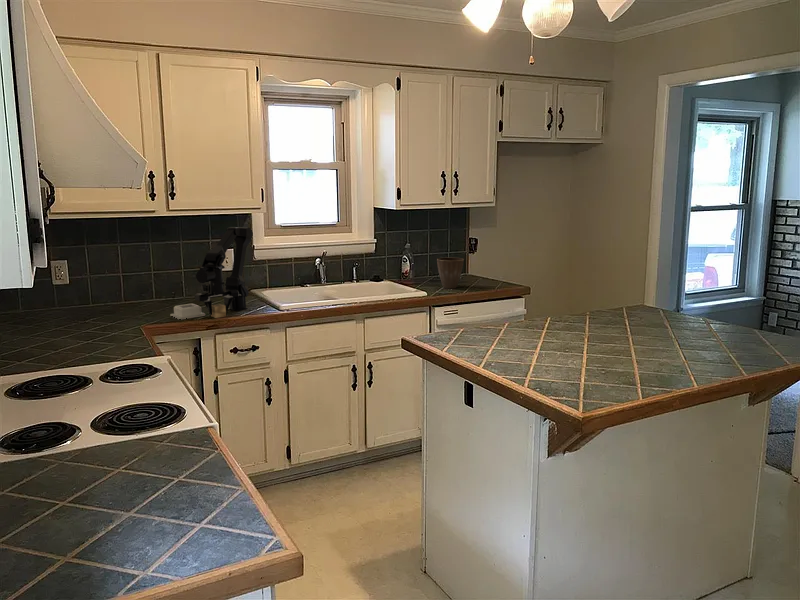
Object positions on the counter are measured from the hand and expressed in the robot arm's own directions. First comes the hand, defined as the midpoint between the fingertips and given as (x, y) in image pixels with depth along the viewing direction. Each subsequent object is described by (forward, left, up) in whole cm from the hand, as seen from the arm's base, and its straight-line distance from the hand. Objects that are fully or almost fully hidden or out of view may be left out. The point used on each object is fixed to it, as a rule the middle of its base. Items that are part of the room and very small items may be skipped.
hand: (218, 313), depth 288 cm
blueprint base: (+10, -10, -1) cm, 14 cm away
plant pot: (-128, +20, -1) cm, 130 cm away
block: (0, 0, -1) cm, 1 cm away
